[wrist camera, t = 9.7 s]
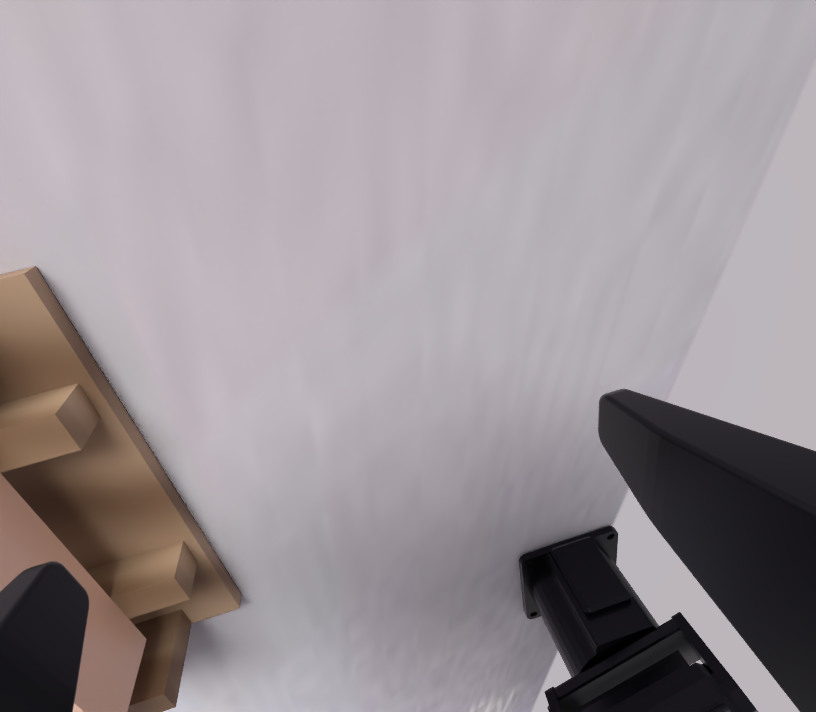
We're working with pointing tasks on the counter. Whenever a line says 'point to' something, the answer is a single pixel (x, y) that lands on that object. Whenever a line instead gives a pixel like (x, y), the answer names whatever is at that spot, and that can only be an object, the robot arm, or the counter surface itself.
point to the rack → (101, 486)
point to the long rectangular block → (106, 625)
